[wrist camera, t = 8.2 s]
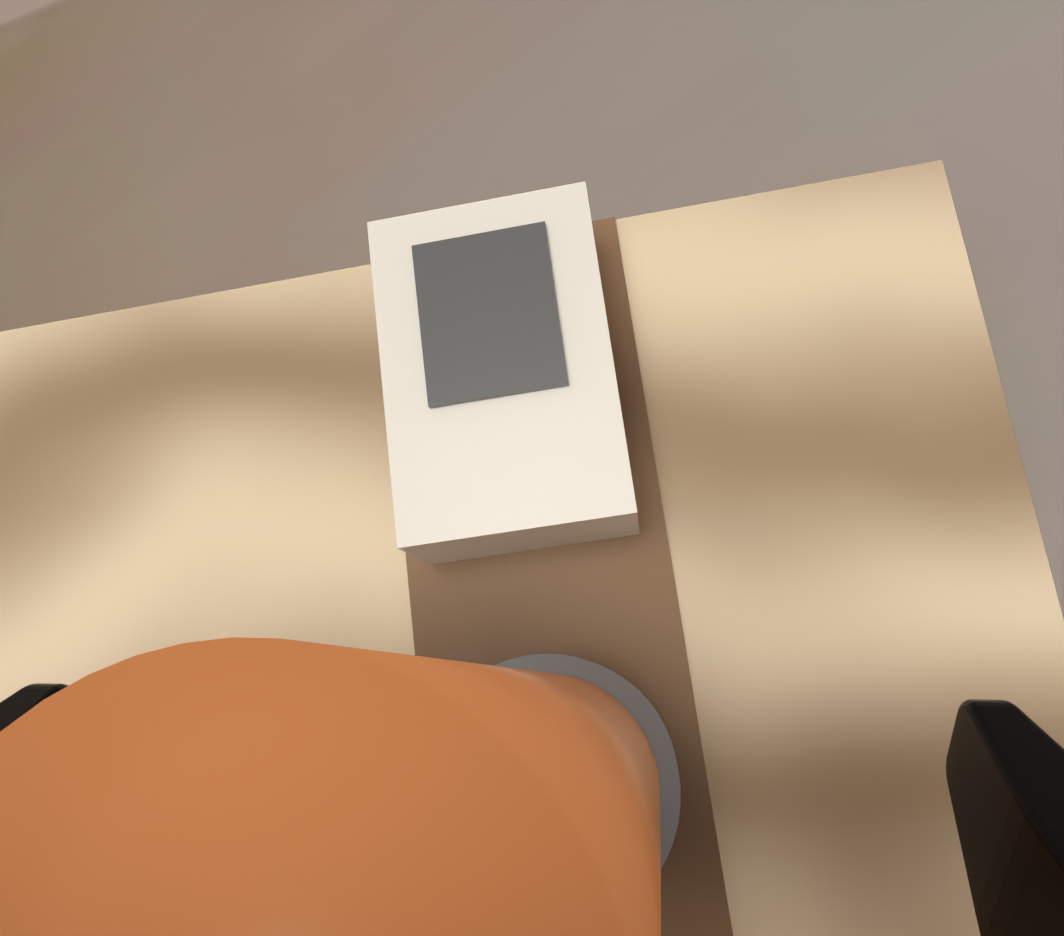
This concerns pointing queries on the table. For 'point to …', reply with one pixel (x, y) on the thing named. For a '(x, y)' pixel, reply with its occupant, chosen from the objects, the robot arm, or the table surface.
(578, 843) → the awl
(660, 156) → the table surface
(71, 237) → the table surface
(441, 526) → the block
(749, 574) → the subfloor board
